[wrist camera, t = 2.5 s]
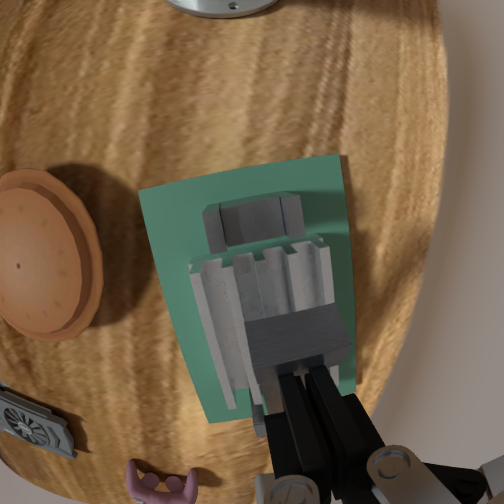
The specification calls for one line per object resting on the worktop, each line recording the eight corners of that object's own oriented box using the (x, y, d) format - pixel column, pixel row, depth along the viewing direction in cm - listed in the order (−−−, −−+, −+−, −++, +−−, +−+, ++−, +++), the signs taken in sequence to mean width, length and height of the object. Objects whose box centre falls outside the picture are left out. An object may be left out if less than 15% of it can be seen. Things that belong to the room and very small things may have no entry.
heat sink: (180, 210, 23) (166, 221, 17) (308, 186, 23) (334, 190, 17) (230, 399, 27) (232, 441, 22) (328, 377, 28) (347, 415, 22)
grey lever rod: (242, 314, 9) (252, 369, 8) (332, 294, 10) (351, 345, 8) (269, 415, 23) (273, 435, 22) (303, 408, 24) (308, 427, 22)
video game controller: (131, 462, 33) (127, 503, 27) (125, 457, 30) (120, 502, 24) (198, 472, 34) (197, 513, 29) (198, 468, 31) (197, 514, 26)
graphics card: (-7, 436, 26) (-33, 382, 23) (1, 422, 29) (-21, 368, 26) (80, 475, 28) (61, 426, 25) (86, 457, 32) (71, 406, 29)
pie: (114, 342, 26) (98, 371, 21) (-2, 303, 24) (-27, 321, 19) (130, 180, 23) (108, 181, 18) (0, 162, 21) (-31, 163, 16)
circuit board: (141, 190, 23) (137, 190, 22) (333, 154, 24) (338, 153, 22) (209, 416, 29) (209, 423, 28) (351, 385, 30) (355, 391, 29)
